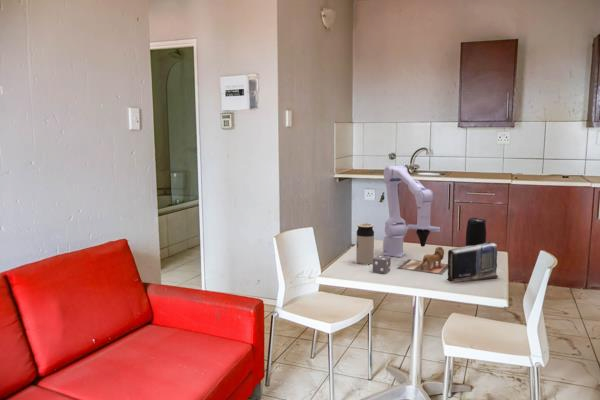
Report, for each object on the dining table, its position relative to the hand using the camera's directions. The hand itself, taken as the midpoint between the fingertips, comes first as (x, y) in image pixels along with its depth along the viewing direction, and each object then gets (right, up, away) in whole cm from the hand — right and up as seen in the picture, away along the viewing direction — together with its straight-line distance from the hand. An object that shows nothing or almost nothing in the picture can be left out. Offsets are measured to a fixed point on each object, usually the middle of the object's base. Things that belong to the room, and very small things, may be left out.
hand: (422, 246), depth 227 cm
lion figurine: (+3, -10, -2) cm, 11 cm away
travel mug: (-25, -9, +8) cm, 28 cm away
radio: (+16, -12, -18) cm, 27 cm away
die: (-20, -11, -6) cm, 23 cm away
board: (+1, -9, 0) cm, 9 cm away
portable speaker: (+28, -8, +12) cm, 31 cm away
